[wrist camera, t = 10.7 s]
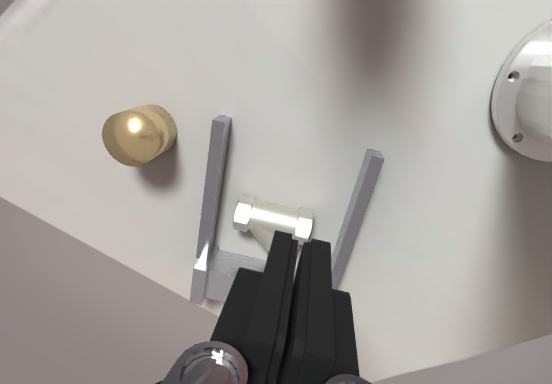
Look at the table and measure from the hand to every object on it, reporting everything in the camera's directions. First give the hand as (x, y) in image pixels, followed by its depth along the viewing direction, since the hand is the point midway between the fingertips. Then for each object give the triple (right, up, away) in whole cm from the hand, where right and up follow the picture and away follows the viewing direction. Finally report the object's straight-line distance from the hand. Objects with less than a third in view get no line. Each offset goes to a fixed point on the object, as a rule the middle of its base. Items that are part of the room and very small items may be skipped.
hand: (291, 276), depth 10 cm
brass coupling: (-13, +9, +24) cm, 29 cm away
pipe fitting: (-1, -1, +27) cm, 27 cm away
